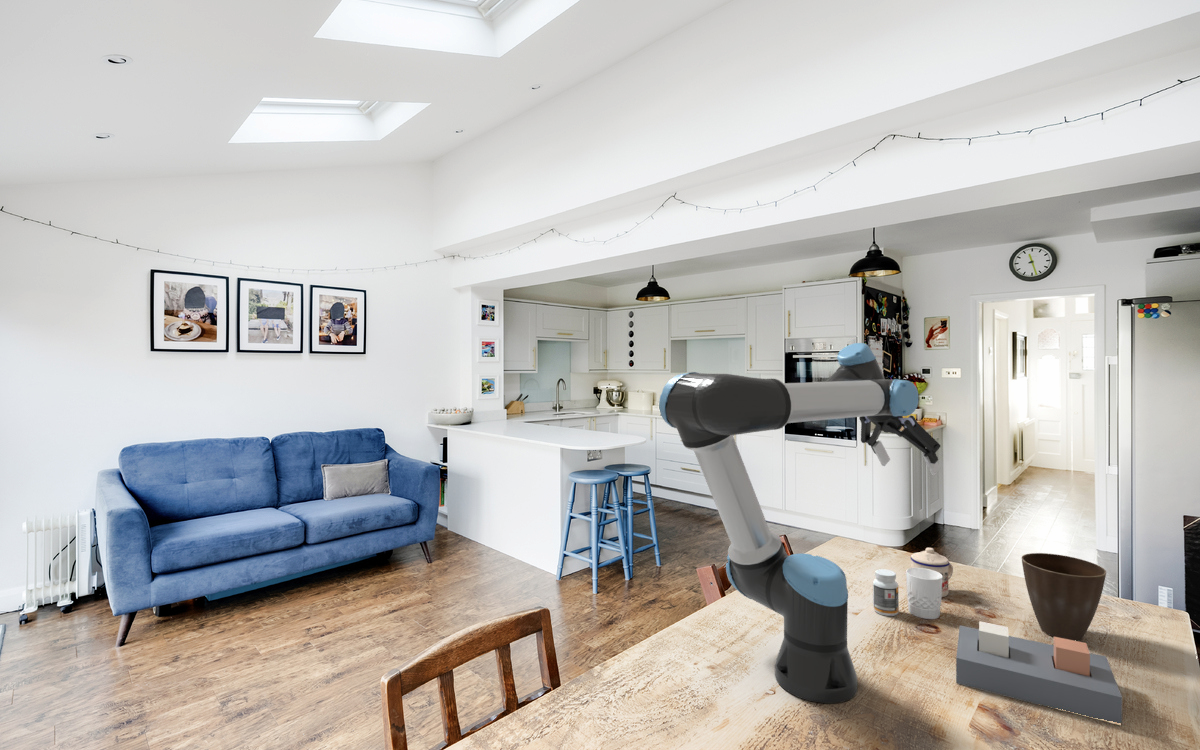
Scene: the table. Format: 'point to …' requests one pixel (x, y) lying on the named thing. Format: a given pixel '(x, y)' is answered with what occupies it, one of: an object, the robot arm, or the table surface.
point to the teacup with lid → (934, 565)
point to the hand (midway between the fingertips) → (910, 467)
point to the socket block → (1038, 677)
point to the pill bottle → (885, 593)
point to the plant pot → (1063, 592)
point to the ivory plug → (993, 639)
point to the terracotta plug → (1071, 656)
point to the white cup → (924, 592)
